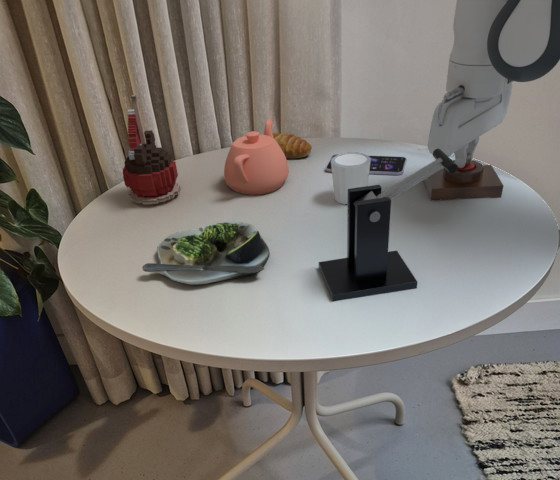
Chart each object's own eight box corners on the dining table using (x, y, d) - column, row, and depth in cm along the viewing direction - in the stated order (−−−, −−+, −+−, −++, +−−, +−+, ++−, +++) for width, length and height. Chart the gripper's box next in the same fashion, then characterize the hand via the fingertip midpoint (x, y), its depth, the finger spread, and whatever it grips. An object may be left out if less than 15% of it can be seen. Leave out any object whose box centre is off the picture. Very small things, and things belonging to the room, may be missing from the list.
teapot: (211, 198, 107) (203, 147, 101) (248, 161, 119) (243, 113, 113) (271, 204, 103) (267, 151, 97) (303, 165, 116) (301, 116, 109)
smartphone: (332, 153, 117) (407, 156, 113) (332, 156, 117) (407, 159, 114) (324, 169, 112) (402, 172, 108) (324, 172, 112) (402, 175, 108)
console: (489, 176, 106) (493, 154, 103) (501, 197, 99) (505, 175, 96) (423, 179, 107) (425, 158, 104) (430, 201, 100) (432, 178, 97)
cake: (175, 207, 105) (154, 103, 93) (125, 210, 106) (98, 107, 94) (184, 183, 113) (166, 84, 101) (138, 186, 114) (114, 88, 102)
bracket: (396, 257, 87) (402, 174, 78) (416, 289, 80) (425, 202, 71) (318, 268, 86) (316, 186, 77) (332, 302, 79) (331, 215, 71)
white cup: (377, 195, 103) (379, 156, 98) (353, 210, 99) (354, 170, 95) (347, 186, 107) (347, 148, 102) (323, 200, 103) (322, 161, 98)
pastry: (317, 150, 121) (317, 132, 118) (302, 163, 117) (301, 144, 114) (279, 145, 125) (277, 127, 122) (263, 157, 121) (261, 138, 118)
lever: (444, 158, 76) (438, 142, 74) (460, 174, 72) (454, 158, 70) (357, 210, 79) (349, 197, 77) (368, 229, 75) (361, 214, 73)
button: (471, 170, 102) (472, 160, 101) (475, 178, 100) (476, 168, 98) (450, 171, 103) (451, 161, 101) (454, 179, 100) (455, 169, 99)
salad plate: (152, 306, 81) (144, 278, 78) (137, 248, 94) (130, 223, 91) (282, 276, 85) (280, 249, 82) (250, 225, 98) (247, 199, 95)
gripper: (460, 99, 84) (448, 190, 93) (523, 65, 94) (506, 150, 104) (422, 93, 87) (414, 181, 96) (487, 61, 98) (474, 143, 107)
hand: (462, 164), depth 100 cm, fingers closed, pressing on button
